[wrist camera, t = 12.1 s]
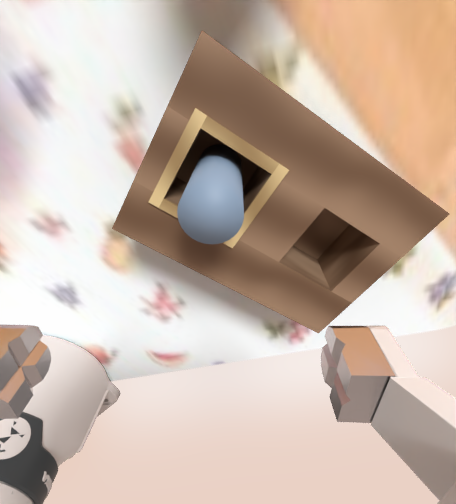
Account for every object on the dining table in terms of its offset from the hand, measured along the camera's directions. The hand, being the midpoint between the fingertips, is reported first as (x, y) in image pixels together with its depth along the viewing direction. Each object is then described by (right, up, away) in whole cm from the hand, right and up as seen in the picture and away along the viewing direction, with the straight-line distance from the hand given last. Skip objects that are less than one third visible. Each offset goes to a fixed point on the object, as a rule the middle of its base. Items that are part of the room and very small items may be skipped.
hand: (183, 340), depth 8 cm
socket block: (+5, +8, +18) cm, 20 cm away
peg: (+1, +10, +16) cm, 19 cm away
